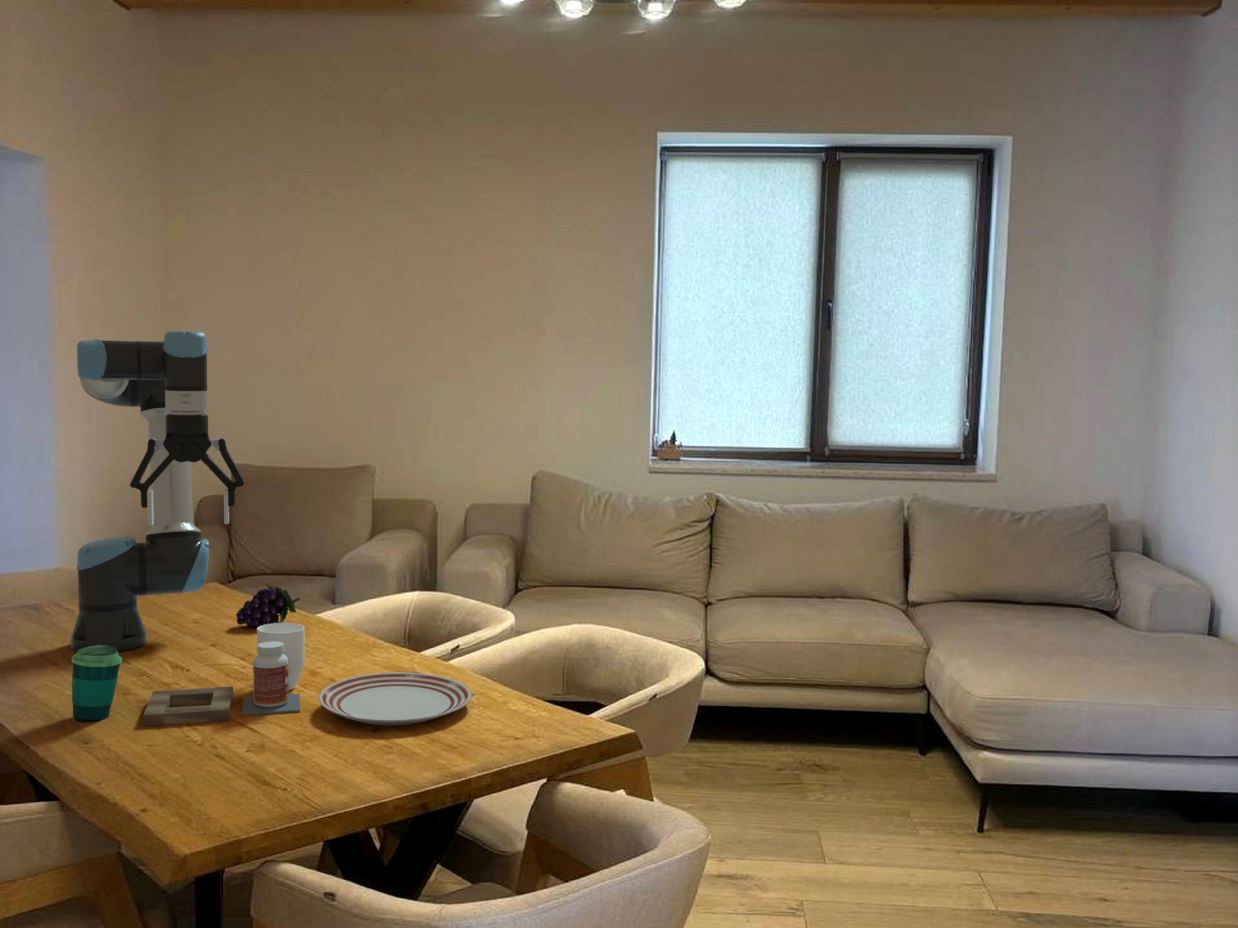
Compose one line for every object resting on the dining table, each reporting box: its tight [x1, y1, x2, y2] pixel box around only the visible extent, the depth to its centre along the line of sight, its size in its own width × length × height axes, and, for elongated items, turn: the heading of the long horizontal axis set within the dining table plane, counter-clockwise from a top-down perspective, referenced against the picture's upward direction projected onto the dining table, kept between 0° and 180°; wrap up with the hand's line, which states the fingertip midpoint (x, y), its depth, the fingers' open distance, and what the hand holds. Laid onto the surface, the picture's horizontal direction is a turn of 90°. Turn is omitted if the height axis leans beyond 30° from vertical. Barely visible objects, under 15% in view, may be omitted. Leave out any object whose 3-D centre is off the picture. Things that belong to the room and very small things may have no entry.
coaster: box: [241, 693, 301, 717], centre depth 204 cm, size 10×10×1 cm
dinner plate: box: [318, 671, 472, 727], centre depth 203 cm, size 27×27×3 cm
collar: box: [142, 685, 234, 727], centre depth 200 cm, size 14×14×2 cm
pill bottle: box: [252, 641, 290, 708], centre depth 203 cm, size 6×6×11 cm
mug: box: [256, 622, 306, 691], centre depth 215 cm, size 12×9×12 cm
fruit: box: [235, 583, 301, 628], centre depth 262 cm, size 10×11×15 cm
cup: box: [71, 645, 123, 723], centre depth 196 cm, size 8×8×12 cm
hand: (189, 524), depth 212 cm, fingers open, 13 cm apart
